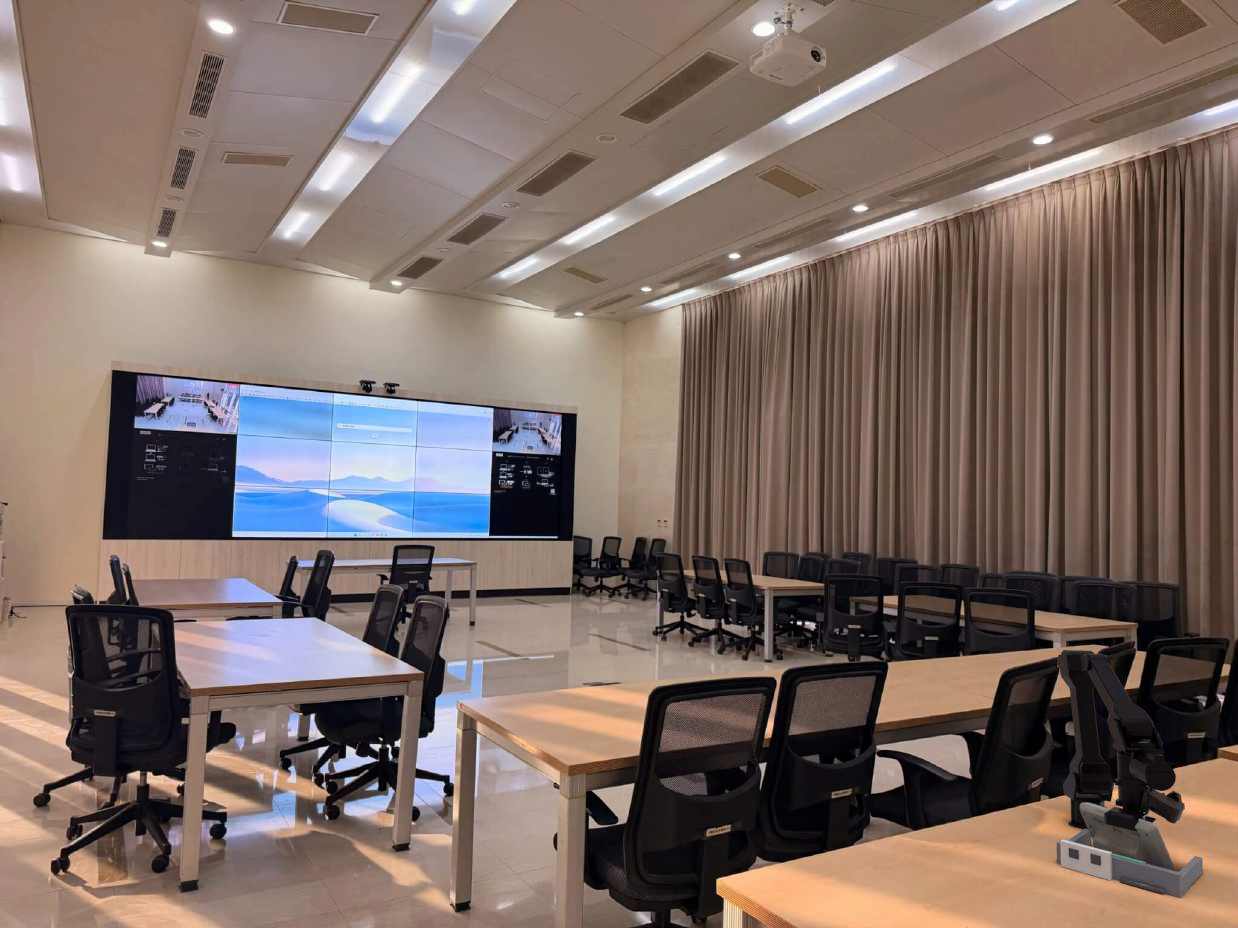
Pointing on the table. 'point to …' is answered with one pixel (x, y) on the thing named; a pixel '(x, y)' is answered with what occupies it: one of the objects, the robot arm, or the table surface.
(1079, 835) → the gray bracket
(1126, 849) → the digital clock
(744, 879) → the table surface
